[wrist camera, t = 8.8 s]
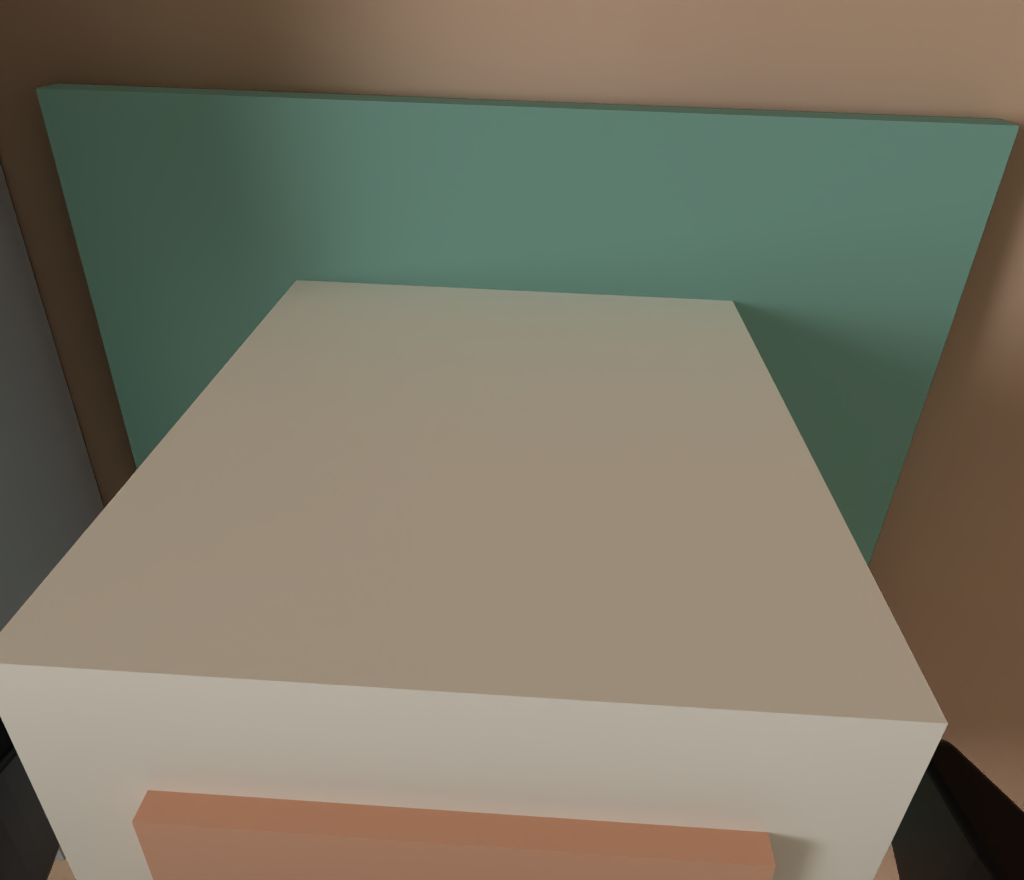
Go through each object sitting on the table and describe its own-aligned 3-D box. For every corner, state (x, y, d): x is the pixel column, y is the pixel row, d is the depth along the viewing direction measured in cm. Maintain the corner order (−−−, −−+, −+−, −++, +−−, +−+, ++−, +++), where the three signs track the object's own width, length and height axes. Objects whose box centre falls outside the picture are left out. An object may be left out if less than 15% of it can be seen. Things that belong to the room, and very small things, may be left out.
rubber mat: (232, 781, 15) (225, 800, 14) (56, 83, 8) (35, 88, 8) (770, 816, 14) (775, 837, 14) (999, 119, 8) (1019, 126, 8)
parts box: (350, 735, 13) (217, 1224, 8) (296, 280, 9) (-49, 693, 4) (647, 754, 13) (704, 1264, 8) (732, 300, 9) (965, 758, 4)
